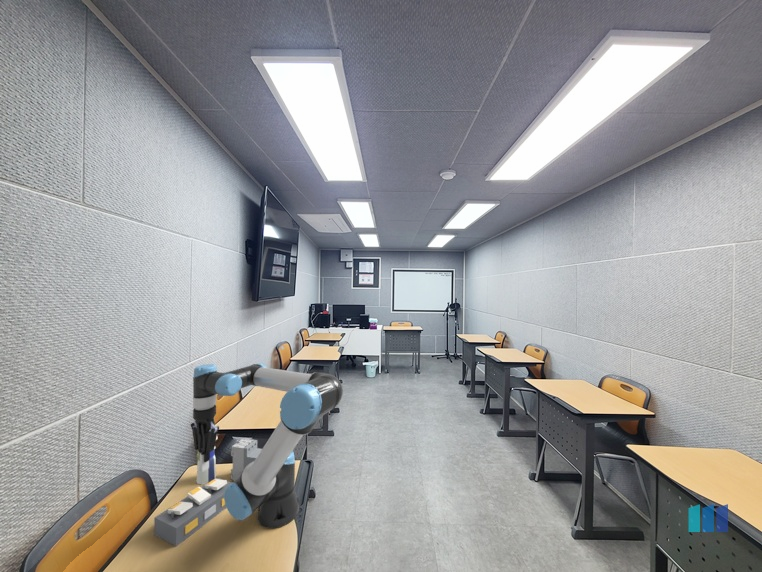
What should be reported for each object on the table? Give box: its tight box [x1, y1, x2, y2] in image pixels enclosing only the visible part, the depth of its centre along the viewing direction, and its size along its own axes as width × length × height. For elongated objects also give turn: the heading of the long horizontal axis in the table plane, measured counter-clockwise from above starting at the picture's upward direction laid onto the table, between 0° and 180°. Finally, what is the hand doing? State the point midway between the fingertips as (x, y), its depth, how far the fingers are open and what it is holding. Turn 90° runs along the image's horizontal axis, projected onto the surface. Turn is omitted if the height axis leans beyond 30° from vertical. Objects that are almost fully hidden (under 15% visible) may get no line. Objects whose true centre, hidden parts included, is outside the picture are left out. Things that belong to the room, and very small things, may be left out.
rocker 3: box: [204, 478, 228, 490], centre depth 117 cm, size 7×4×1 cm, turn 67°
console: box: [153, 477, 232, 547], centre depth 110 cm, size 12×24×8 cm, turn 157°
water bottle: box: [196, 436, 218, 485], centre depth 132 cm, size 8×9×25 cm
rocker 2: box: [186, 486, 211, 505], centre depth 110 cm, size 7×4×1 cm, turn 67°
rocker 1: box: [167, 501, 193, 515], centre depth 104 cm, size 7×4×1 cm, turn 67°
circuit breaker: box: [230, 438, 263, 482], centre depth 134 cm, size 8×14×15 cm, turn 78°
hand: (204, 469), depth 110 cm, fingers closed
